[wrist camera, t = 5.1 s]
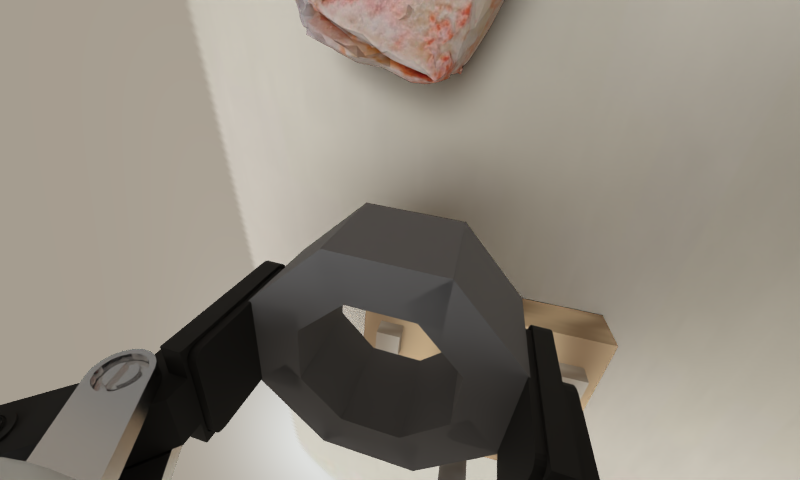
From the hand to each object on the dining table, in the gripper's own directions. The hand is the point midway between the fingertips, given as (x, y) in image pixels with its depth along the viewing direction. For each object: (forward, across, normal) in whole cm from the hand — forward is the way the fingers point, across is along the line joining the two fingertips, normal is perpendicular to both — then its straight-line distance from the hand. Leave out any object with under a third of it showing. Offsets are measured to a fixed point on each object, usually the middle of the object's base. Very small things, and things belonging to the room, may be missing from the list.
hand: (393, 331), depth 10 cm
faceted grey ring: (+1, 0, 0) cm, 1 cm away
